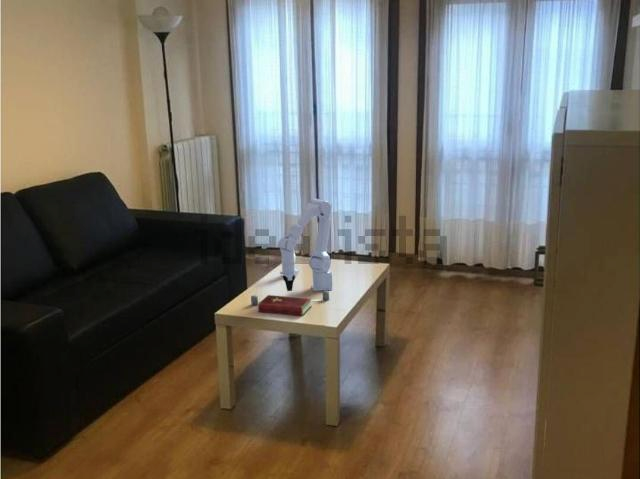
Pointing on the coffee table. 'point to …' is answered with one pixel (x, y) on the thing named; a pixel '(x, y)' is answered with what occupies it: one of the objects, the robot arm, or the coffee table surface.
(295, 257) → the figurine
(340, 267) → the coffee table surface
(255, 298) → the strip
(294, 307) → the hardcover book
